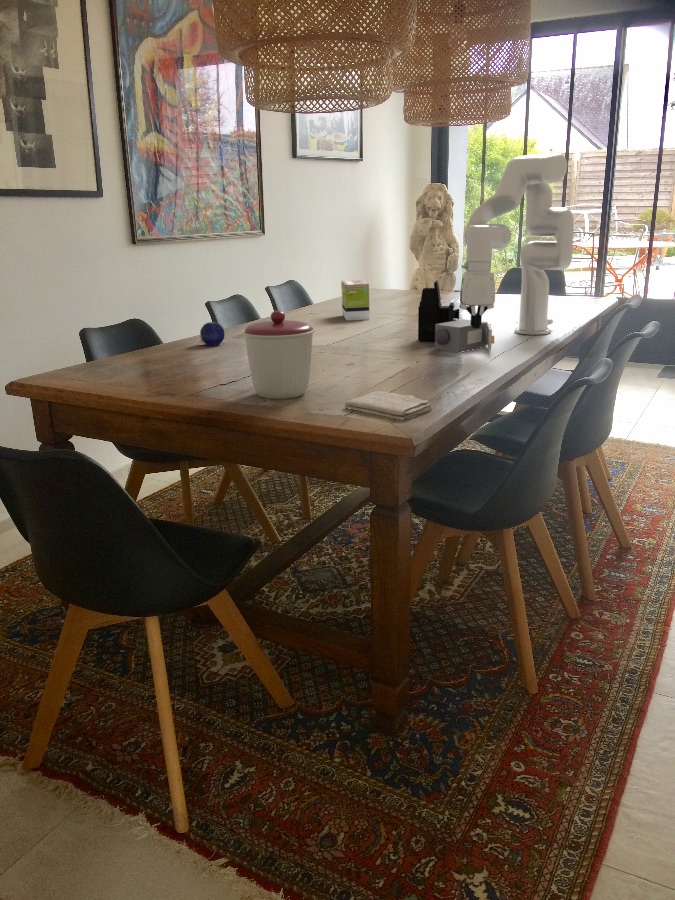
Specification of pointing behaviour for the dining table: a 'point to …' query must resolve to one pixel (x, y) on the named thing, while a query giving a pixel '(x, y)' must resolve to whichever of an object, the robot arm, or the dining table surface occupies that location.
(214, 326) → the ball
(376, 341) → the dining table surface
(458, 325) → the grey device box
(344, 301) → the tea box
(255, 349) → the canister
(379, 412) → the washcloth
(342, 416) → the dining table surface
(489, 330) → the side door
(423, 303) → the camera
